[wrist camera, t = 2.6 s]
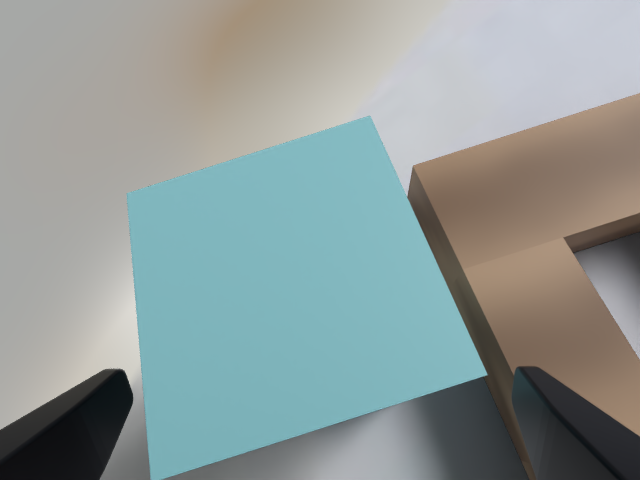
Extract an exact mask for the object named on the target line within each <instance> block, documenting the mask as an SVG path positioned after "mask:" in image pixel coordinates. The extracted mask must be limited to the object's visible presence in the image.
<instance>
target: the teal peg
mask: <svg viewBox="0 0 640 480" xmlns="http://www.w3.org/2000/svg"><path fill="white" fill-rule="evenodd" d="M127 204H128V215H129V216H128V217H129V228H130V240H131V252H132V263H133V276H134V288H135V300H136V311H137V322H138V335H139V346H140V357H141V371H142V382H143V394H144V406H145V418H146V430H147V441H148V453H149V465H150V477H151V480H162V479H165V478H168V477H171V476H174V475H177V474H180V473H184V472H187V471H190V470H193V469H196V468H199V467H202V466H205V465H209V464H212V463H215V462H218V461H221V460H224V459H227V458H230V457H233V456H237V455H240V454H243V453H246V452H249V451H252V450H255V449H258V448H262V447H265V446H268V445H271V444H274V443H277V442H280V441H283V440H286V439H290V438H293V437H296V436H299V435H302V434H305V433H308V432H311V431H315V430H318V429H321V428H324V427H327V426H330V425H333V424H336V423H339V422H343V421H346V420H349V419H352V418H355V417H358V416H361V415H364V414H368V413H371V412H374V411H377V410H380V409H383V408H386V407H389V406H392V405H396V404H399V403H402V402H405V401H408V400H411V399H414V398H417V397H421V396H424V395H427V394H430V393H433V392H436V391H439V390H442V389H445V388H449V387H452V386H455V385H458V384H461V383H464V382H467V381H470V380H474V379H477V378H480V377H483V376H486V375H487V372H486V370H485V368H484V366H483V363H482V361H481V359H480V357H479V355H478V352H477V350H476V348H475V346H474V344H473V341H472V339H471V337H470V335H469V333H468V330H467V328H466V326H465V324H464V322H463V319H462V317H461V315H460V313H459V311H458V308H457V306H456V304H455V302H454V300H453V297H452V295H451V293H450V291H449V288H448V286H447V284H446V282H445V280H444V277H443V275H442V273H441V271H440V269H439V266H438V264H437V262H436V260H435V258H434V255H433V253H432V251H431V249H430V247H429V244H428V242H427V240H426V238H425V236H424V233H423V231H422V229H421V227H420V225H419V222H418V220H417V218H416V216H415V213H414V211H413V209H412V207H411V205H410V202H409V200H408V198H407V196H406V194H405V191H404V189H403V187H402V185H401V183H400V180H399V178H398V176H397V174H396V172H395V169H394V167H393V165H392V163H391V161H390V158H389V156H388V154H387V152H386V150H385V147H384V145H383V143H382V141H381V139H380V136H379V134H378V132H377V130H376V127H375V125H374V123H373V121H372V119H371V116H367V117H364V118H361V119H358V120H355V121H352V122H348V123H345V124H342V125H339V126H336V127H333V128H330V129H327V130H323V131H321V132H317V133H314V134H311V135H308V136H305V137H302V138H299V139H295V140H292V141H289V142H286V143H283V144H280V145H276V146H273V147H271V148H267V149H264V150H261V151H258V152H255V153H252V154H248V155H245V156H242V157H239V158H236V159H233V160H230V161H227V162H223V163H220V164H217V165H214V166H211V167H208V168H205V169H201V170H199V171H195V172H192V173H189V174H186V175H183V176H179V177H176V178H173V179H170V180H167V181H164V182H161V183H158V184H154V185H152V186H148V187H145V188H142V189H139V190H136V191H133V192H130V193H127Z"/></svg>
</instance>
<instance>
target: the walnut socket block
mask: <svg viewBox="0 0 640 480" xmlns="http://www.w3.org/2000/svg"><path fill="white" fill-rule="evenodd" d="M407 198H408V200H409V202H410V205H411V207H412V209H413V211H414V213H415V216H416V218H417V220H418V222H419V225H420V227H421V229H422V231H423V233H424V236H425V238H426V240H427V242H428V244H429V247H430V249H431V251H432V253H433V255H434V258H435V260H436V262H437V264H438V266H439V269H440V271H441V273H442V275H443V277H444V280H445V282H446V284H447V286H448V288H449V291H450V293H451V295H452V297H453V300H454V302H455V304H456V306H457V308H458V311H459V313H460V315H461V317H462V319H463V322H464V324H465V326H466V328H467V330H468V333H469V335H470V337H471V339H472V341H473V344H474V346H475V348H476V350H477V352H478V355H479V357H480V359H481V361H482V363H483V366H484V368H485V370H486V372H487V375H486V376H483V377H484V379H485V381H486V384H487V386H488V388H489V390H490V392H491V395H492V397H493V399H494V401H495V404H496V406H497V408H498V410H499V413H500V415H501V417H502V419H503V421H504V424H505V426H506V428H507V430H508V433H509V435H510V437H511V439H512V442H513V444H514V446H515V448H516V451H517V453H518V455H519V457H520V459H521V462H522V464H523V466H524V468H525V471H526V473H527V475H528V477H529V480H537V479H536V476H535V473H534V470H533V467H532V464H531V461H530V458H529V455H528V452H527V449H526V446H525V443H524V440H523V437H522V434H521V431H520V427H519V424H518V421H517V418H516V415H515V412H514V409H513V405H512V399H511V395H512V387H513V380H514V373H515V369H516V368H517V367H518V366H537V367H539V368H541V369H542V370H544V371H545V372H547V373H548V374H550V375H551V376H553V377H554V378H556V379H557V380H559V381H560V382H561V383H563V384H564V385H566V386H567V387H569V388H570V389H572V390H573V391H575V392H576V393H577V394H579V395H580V396H582V397H583V398H585V399H586V400H588V401H589V402H591V403H592V404H593V405H595V406H596V407H598V408H599V409H601V410H602V411H604V412H605V413H607V414H608V415H610V416H611V417H612V418H614V419H615V420H617V421H618V422H620V423H621V424H623V425H624V426H626V427H627V428H628V429H630V430H631V431H633V432H634V433H636V434H637V435H639V436H640V360H639V358H638V356H637V355H636V353H635V352H634V350H633V348H632V347H631V345H630V344H629V342H628V340H627V339H626V337H625V336H624V334H623V332H622V331H621V329H620V328H619V326H618V324H617V323H616V321H615V320H614V318H613V316H612V315H611V313H610V312H609V310H608V309H607V307H606V305H605V304H604V302H603V301H602V299H601V297H600V296H599V294H598V293H597V291H596V289H595V288H594V286H593V285H592V283H591V281H590V280H589V278H588V277H587V275H586V273H585V272H584V270H583V269H582V267H581V265H580V264H579V262H578V261H577V259H576V257H575V256H574V254H573V253H574V252H577V251H580V250H584V249H587V248H590V247H593V246H596V245H599V244H602V243H605V242H608V241H612V240H615V239H618V238H621V237H624V236H627V235H630V234H633V233H637V232H640V93H639V94H636V95H633V96H629V97H626V98H623V99H620V100H617V101H614V102H611V103H608V104H604V105H601V106H598V107H595V108H592V109H589V110H586V111H583V112H579V113H576V114H573V115H570V116H567V117H564V118H561V119H557V120H554V121H551V122H548V123H545V124H542V125H539V126H536V127H532V128H529V129H526V130H523V131H520V132H517V133H514V134H511V135H507V136H504V137H501V138H498V139H495V140H492V141H489V142H486V143H482V144H479V145H476V146H473V147H470V148H467V149H464V150H460V151H457V152H454V153H451V154H448V155H445V156H442V157H439V158H435V159H432V160H429V161H426V162H423V163H420V164H417V165H414V166H413V168H412V174H411V180H410V185H409V191H408V196H407Z"/></svg>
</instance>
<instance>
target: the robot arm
mask: <svg viewBox="0 0 640 480" xmlns="http://www.w3.org/2000/svg"><path fill="white" fill-rule="evenodd" d="M511 399H512V405H513V409H514V412H515V415H516V418H517V421H518V424H519V427H520V431H521V434H522V437H523V440H524V443H525V446H526V449H527V452H528V455H529V458H530V461H531V464H532V467H533V470H534V473H535V476H536V479H537V480H640V436H639V435H637V434H636V433H634V432H633V431H631V430H630V429H628V428H627V427H626V426H624V425H623V424H621V423H620V422H618V421H617V420H615V419H614V418H612V417H611V416H610V415H608V414H607V413H605V412H604V411H602V410H601V409H599V408H598V407H596V406H595V405H593V404H592V403H591V402H589V401H588V400H586V399H585V398H583V397H582V396H580V395H579V394H577V393H576V392H575V391H573V390H572V389H570V388H569V387H567V386H566V385H564V384H563V383H561V382H560V381H559V380H557V379H556V378H554V377H553V376H551V375H550V374H548V373H547V372H545V371H544V370H542V369H541V368H539V367H537V366H518V367H517V368H516V369H515V373H514V380H513V387H512V395H511ZM132 404H133V393H132V390H131V387H130V384H129V381H128V379H127V375H126V373H125V371H124V370H122V369H105V370H103V371H101V372H99V373H97V374H96V375H94V376H92V377H90V378H89V379H87V380H85V381H84V382H82V383H80V384H78V385H77V386H75V387H73V388H71V389H70V390H68V391H67V392H65V393H63V394H61V395H60V396H58V397H56V398H54V399H53V400H51V401H49V402H47V403H46V404H44V405H42V406H40V407H39V408H37V409H35V410H34V411H32V412H30V413H28V414H27V415H25V416H23V417H22V418H20V419H18V420H16V421H15V422H13V423H11V424H10V425H8V426H6V427H4V428H3V429H1V430H0V480H100V478H101V476H102V474H103V472H104V470H105V467H106V465H107V463H108V461H109V459H110V456H111V454H112V452H113V449H114V447H115V445H116V442H117V440H118V437H119V435H120V433H121V430H122V428H123V426H124V423H125V421H126V419H127V416H128V414H129V412H130V409H131V407H132Z"/></svg>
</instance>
